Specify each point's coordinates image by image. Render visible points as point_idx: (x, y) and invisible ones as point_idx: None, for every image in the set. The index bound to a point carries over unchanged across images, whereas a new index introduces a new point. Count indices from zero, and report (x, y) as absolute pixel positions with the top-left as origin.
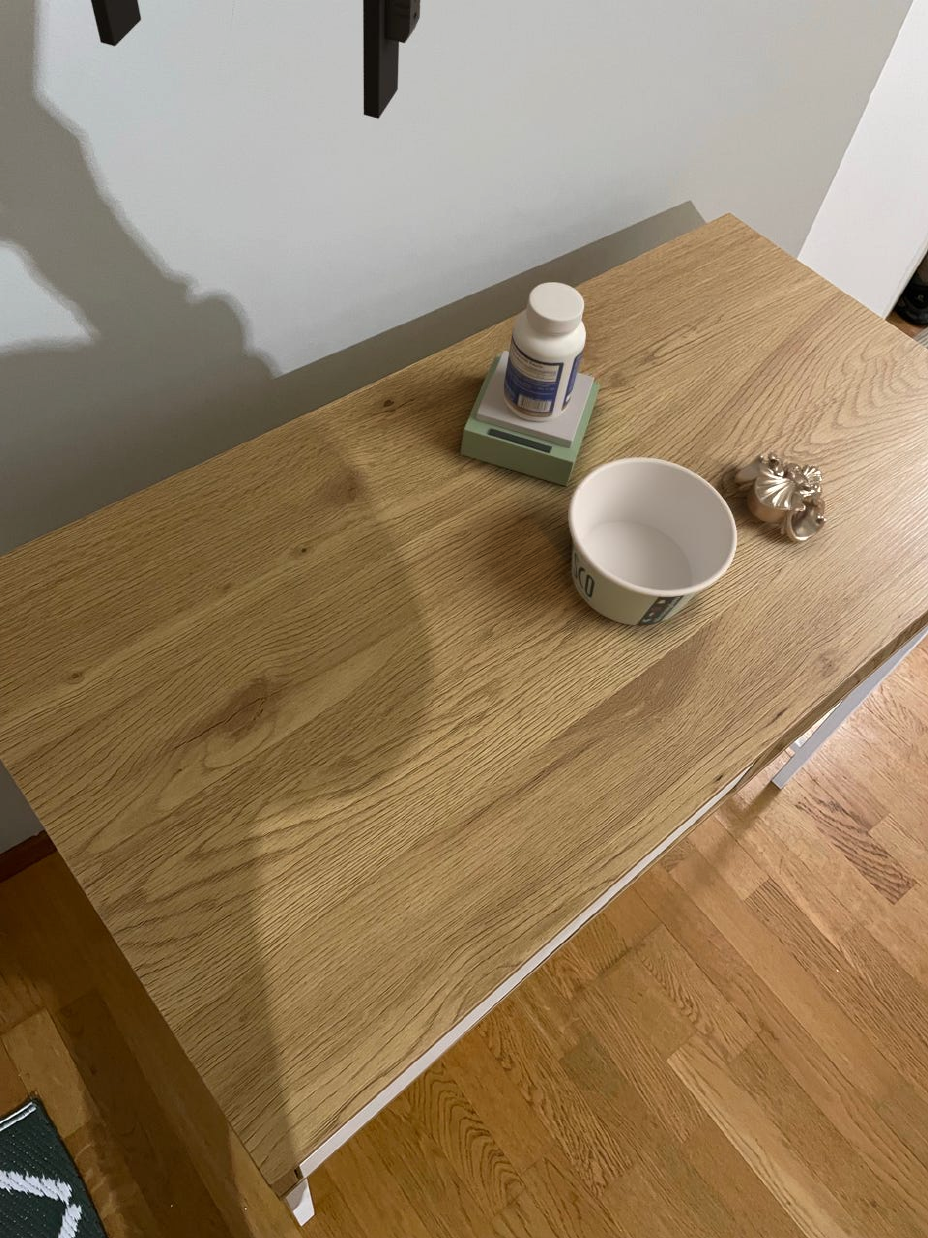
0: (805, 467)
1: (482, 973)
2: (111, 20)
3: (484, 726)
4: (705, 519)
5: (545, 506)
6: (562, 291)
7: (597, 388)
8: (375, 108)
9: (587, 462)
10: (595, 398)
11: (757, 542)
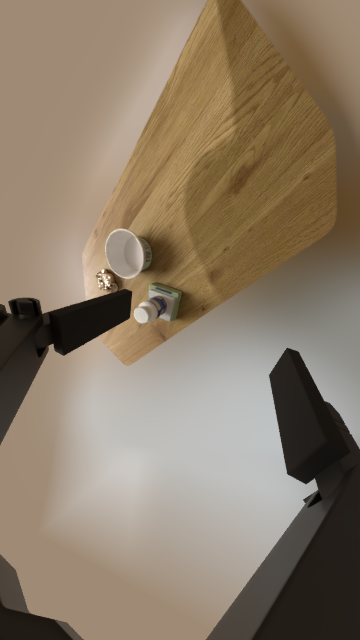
0: (101, 288)
1: (163, 96)
2: (289, 358)
3: (169, 192)
4: (116, 264)
5: (159, 275)
6: (139, 319)
7: None
8: (123, 290)
9: None
10: None
11: None
